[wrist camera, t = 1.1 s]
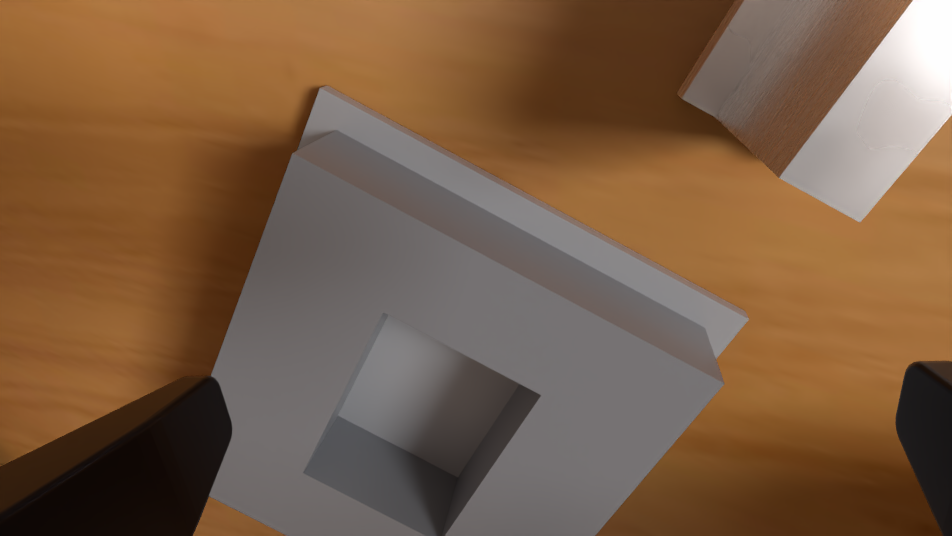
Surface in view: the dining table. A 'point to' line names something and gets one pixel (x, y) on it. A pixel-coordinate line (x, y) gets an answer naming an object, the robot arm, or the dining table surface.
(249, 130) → the dining table surface
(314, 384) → the well block
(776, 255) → the dining table surface
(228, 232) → the dining table surface
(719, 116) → the brushed grey block
